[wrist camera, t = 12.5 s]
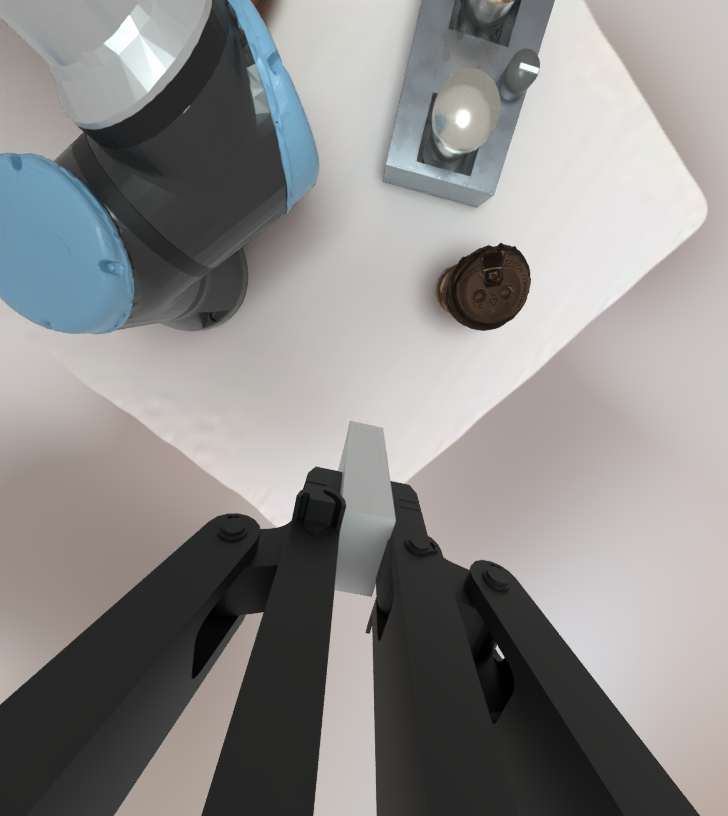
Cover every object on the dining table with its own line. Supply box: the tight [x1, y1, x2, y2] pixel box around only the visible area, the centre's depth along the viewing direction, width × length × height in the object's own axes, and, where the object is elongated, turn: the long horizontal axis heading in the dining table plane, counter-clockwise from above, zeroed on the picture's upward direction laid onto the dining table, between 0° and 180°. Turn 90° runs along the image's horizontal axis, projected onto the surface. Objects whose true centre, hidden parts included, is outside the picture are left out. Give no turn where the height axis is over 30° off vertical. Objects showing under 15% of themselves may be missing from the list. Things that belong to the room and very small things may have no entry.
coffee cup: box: [436, 243, 531, 331], centre depth 40 cm, size 9×8×13 cm
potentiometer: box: [499, 49, 540, 101], centre depth 33 cm, size 3×3×3 cm
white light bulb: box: [423, 68, 501, 171], centre depth 35 cm, size 6×6×10 cm
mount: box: [383, 0, 555, 207], centre depth 37 cm, size 12×19×6 cm, turn 167°
